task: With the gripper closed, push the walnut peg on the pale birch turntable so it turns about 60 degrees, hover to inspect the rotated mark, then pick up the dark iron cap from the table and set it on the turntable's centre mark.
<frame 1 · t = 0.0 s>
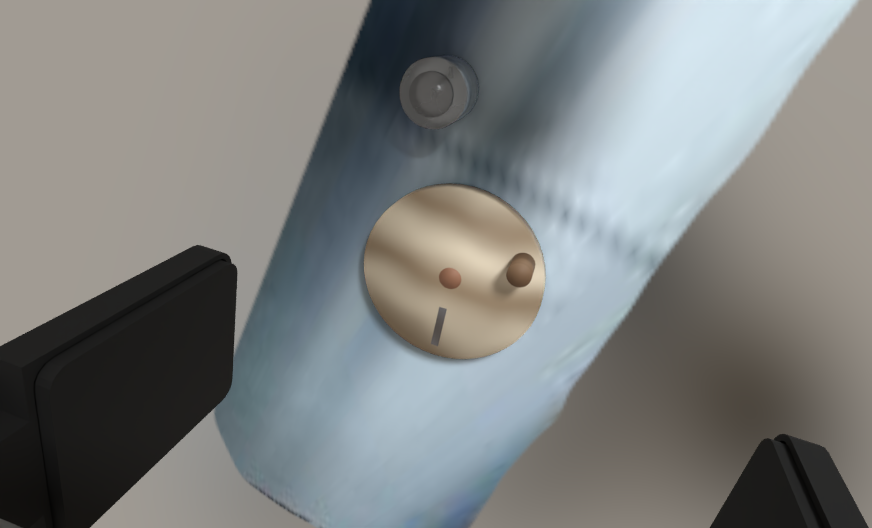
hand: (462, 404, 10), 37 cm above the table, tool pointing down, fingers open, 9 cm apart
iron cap: (447, 88, 44), on the table
turntable: (448, 280, 48), point 3 cm above the table, hinge at 0.0°
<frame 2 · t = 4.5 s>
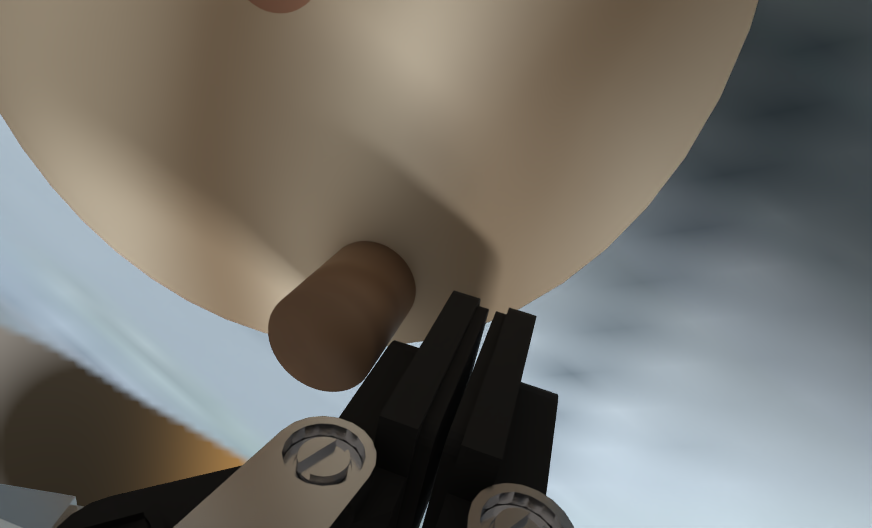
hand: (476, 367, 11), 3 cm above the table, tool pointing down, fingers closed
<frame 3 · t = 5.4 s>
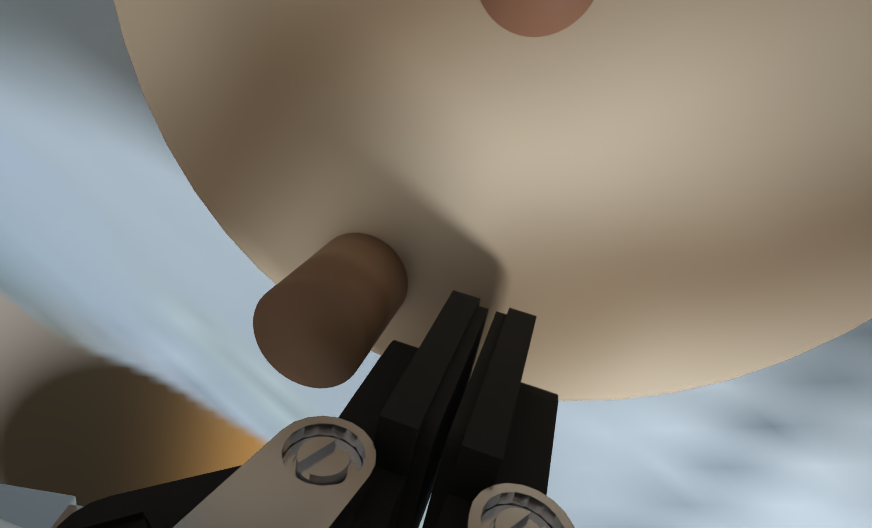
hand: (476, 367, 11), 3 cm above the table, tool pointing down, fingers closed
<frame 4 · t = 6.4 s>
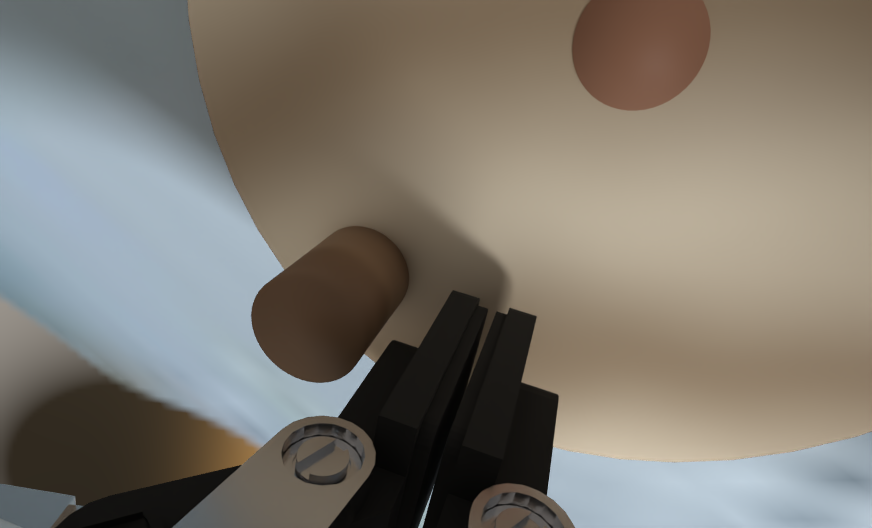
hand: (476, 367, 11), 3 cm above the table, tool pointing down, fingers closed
turntable: (641, 44, 8), point 2 cm above the table, hinge at -65.7°, touching gripper
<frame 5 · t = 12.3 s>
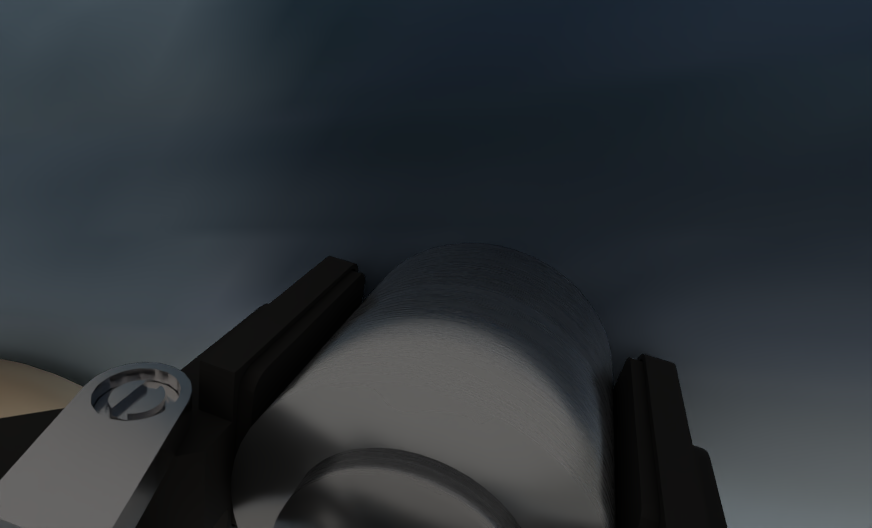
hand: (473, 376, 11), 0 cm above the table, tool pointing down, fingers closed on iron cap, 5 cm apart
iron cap: (479, 362, 11), on the table, touching gripper
when the fingers open (4 cm above the table, at t = 17.8 s): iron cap drops 1 cm, resting on turntable.
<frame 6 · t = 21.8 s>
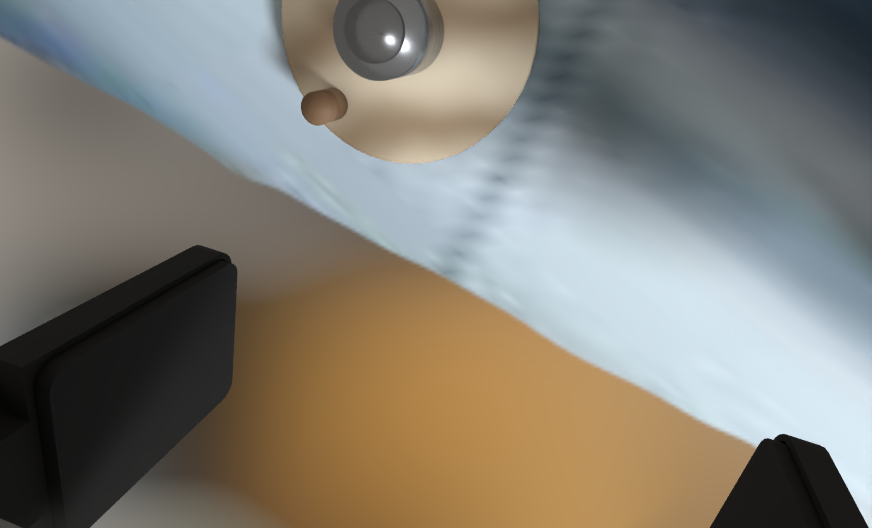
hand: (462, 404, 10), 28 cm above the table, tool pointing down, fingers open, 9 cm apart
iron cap: (403, 31, 33), point 2 cm above the table, touching turntable
turntable: (399, 30, 33), point 2 cm above the table, hinge at -65.8°, touching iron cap
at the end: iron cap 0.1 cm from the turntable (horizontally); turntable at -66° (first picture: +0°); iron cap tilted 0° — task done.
